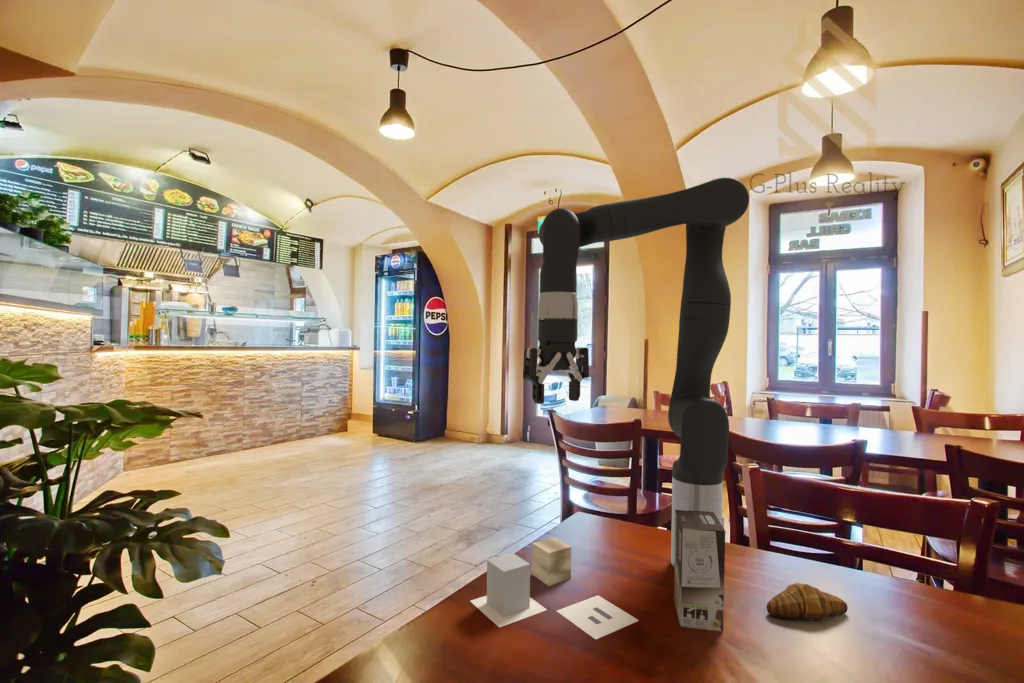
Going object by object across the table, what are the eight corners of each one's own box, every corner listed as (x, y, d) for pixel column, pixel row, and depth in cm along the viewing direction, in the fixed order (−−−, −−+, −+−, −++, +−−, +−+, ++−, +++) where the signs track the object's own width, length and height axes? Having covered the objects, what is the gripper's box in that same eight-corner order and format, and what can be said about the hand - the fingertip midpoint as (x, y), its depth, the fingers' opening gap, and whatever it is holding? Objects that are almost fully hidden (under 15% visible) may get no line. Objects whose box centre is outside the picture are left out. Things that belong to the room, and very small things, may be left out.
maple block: (553, 574, 95) (553, 537, 95) (570, 585, 91) (571, 546, 91) (531, 581, 92) (532, 543, 92) (548, 593, 88) (549, 553, 88)
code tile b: (515, 593, 88) (515, 586, 88) (547, 617, 80) (547, 609, 80) (469, 608, 83) (469, 600, 83) (499, 635, 75) (499, 627, 75)
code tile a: (597, 602, 85) (597, 595, 85) (638, 628, 78) (639, 620, 78) (556, 618, 80) (556, 610, 80) (595, 647, 73) (595, 639, 73)
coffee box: (725, 640, 75) (726, 531, 75) (679, 634, 76) (681, 527, 76) (713, 607, 84) (715, 510, 84) (672, 603, 85) (674, 507, 85)
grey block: (512, 594, 85) (512, 552, 85) (529, 607, 81) (530, 564, 81) (486, 602, 82) (487, 559, 82) (503, 617, 78) (503, 571, 78)
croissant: (829, 602, 87) (830, 573, 87) (861, 624, 80) (861, 592, 80) (755, 605, 85) (755, 576, 85) (780, 628, 78) (781, 596, 78)
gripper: (573, 318, 104) (572, 397, 104) (515, 316, 96) (514, 402, 96) (598, 317, 98) (597, 402, 98) (539, 315, 90) (538, 406, 90)
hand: (556, 401), depth 97 cm, fingers open, 8 cm apart
